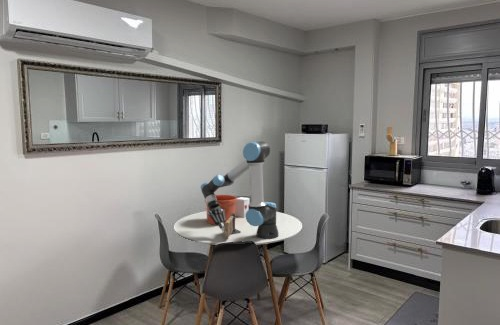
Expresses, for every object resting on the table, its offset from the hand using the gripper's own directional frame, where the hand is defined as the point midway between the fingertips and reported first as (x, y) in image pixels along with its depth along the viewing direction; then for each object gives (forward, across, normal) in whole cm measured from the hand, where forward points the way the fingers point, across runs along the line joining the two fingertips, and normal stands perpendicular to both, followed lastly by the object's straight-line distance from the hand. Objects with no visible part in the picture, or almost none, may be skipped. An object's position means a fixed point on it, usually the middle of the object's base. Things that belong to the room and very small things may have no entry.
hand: (224, 232), depth 240 cm
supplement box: (-29, -45, -37) cm, 66 cm away
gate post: (-4, -13, -11) cm, 18 cm away
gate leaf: (0, -5, -4) cm, 7 cm away
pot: (-25, -21, -33) cm, 46 cm away
